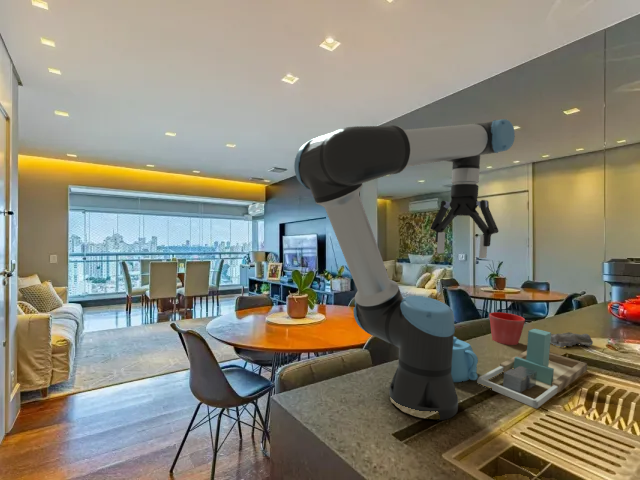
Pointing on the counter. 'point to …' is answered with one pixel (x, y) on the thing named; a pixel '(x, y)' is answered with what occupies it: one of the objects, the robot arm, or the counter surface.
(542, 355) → the rake tool
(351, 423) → the counter surface
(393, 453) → the counter surface
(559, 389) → the slot board
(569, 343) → the stone
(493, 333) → the flower pot
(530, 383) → the block
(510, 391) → the tray
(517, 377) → the block
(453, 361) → the teapot
